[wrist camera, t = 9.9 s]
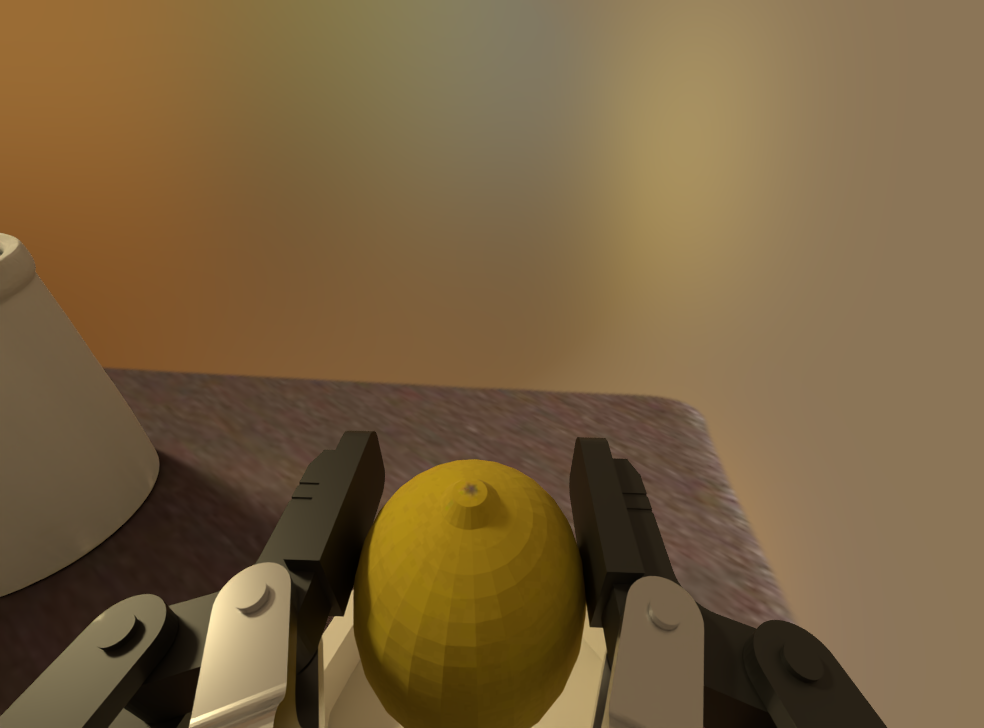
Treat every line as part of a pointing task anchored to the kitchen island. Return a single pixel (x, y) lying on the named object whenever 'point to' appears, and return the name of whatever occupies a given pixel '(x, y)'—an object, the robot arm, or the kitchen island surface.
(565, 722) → the bowl
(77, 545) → the utensil holder
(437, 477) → the lemon
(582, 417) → the kitchen island surface
